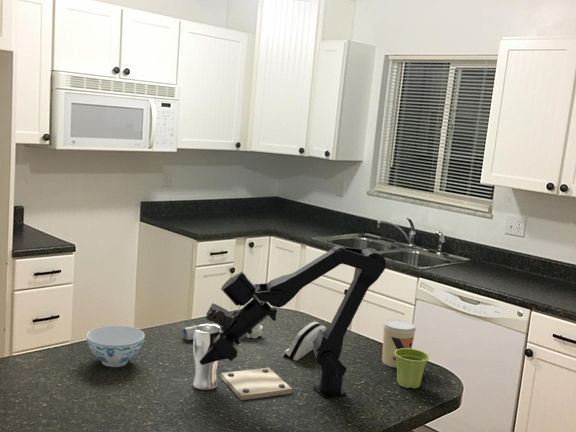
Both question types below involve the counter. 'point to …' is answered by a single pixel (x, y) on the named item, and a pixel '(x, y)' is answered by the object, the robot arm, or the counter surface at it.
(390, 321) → the cream lidded tub
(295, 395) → the counter surface
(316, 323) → the white layered curved block
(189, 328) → the grey long bar
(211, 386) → the metal tumbler
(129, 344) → the chinaware
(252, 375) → the bolt plate
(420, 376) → the plant pot
